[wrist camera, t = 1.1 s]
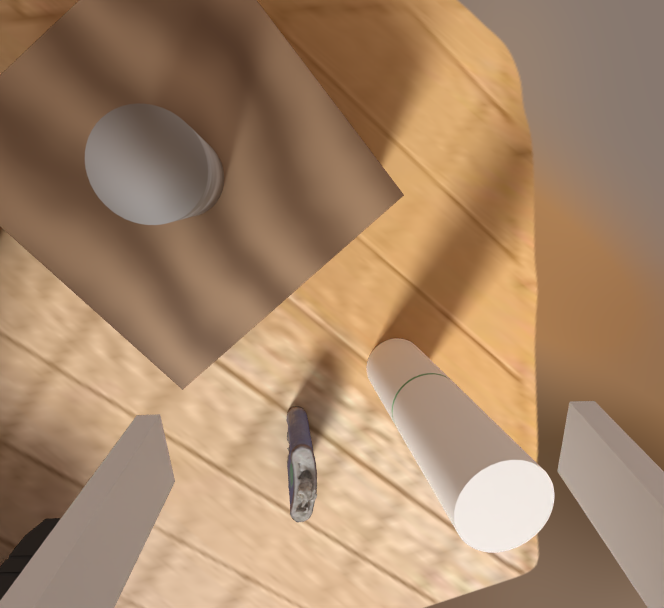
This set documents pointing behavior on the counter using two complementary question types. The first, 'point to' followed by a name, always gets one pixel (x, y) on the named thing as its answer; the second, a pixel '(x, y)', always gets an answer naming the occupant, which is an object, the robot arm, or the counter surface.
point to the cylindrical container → (461, 451)
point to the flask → (300, 466)
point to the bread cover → (179, 170)
